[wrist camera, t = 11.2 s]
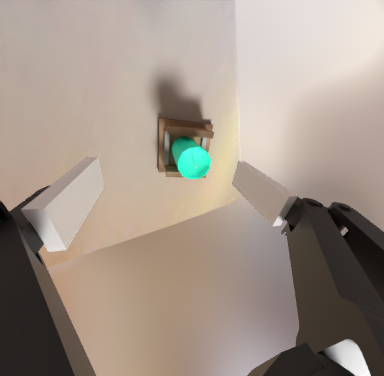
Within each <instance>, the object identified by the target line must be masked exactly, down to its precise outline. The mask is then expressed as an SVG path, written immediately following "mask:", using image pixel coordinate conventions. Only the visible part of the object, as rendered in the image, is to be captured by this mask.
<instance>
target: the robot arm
mask: <svg viewBox="0 0 384 376" xmlns="http://www.w3.org/2000/svg"><path fill="white" fill-rule="evenodd" d="M232 185H233V186H234V187H235V188H236V189H237V190H238V191H239V192H240V193H241V194H242V195H243V196H244V197H245V198H246V199H247V200H248V201H249V202H250V203H251V204H252V205H253V206H254V207H255V209H256V210H257V211H258V212H259V213H260V214H261V215H262V216H263V217H264V218H265V219H266V220H267V221H268V222H269V223H270V224H271V225H272V226H279V225H281V224H282V222H283V221H284V219H285V220H286V221H287V224H286V226H285V228H284V229H283V230H282V232H281V234H283V233H284V232H286V234H285V235H286V236H287V240H288V247H289V254H290V261H291V268H292V275H293V282H294V289H295V296H296V303H297V310H298V317H299V332H298V335H297V338H296V347H294V348H291V349H289V350H286V351H284V352H281V353H280V354H278V355H276V356H275V357H273V358H271V359H270V360H268V361H266V362H265V363H263V364H261V365H259V366H258V367H256V368H254V369H253V370H252V371H251V372H250V373H249V374H248V375H247V376H384V232H383V231H382V230H380V229H379V228H378V227H376V226H375V225H374V224H373V223H371V222H370V221H369V220H367V219H366V218H365V217H363V216H362V215H361V214H360V213H358V212H357V211H356V210H354V209H353V208H351V207H349V206H348V205H346V204H343V203H337V202H334V203H332V204H331V205H330V207H329V208H327V207H324V206H323V205H322V204H321V203H319V202H317V201H316V200H313V199H309V198H303V199H300V198H299V197H298V195H296V194H295V193H293V192H291V191H290V190H288V189H287V188H285V187H283V186H282V185H281V184H279V183H277V182H276V181H274V180H273V179H271V178H270V177H268V176H267V175H265V174H263V173H262V172H260V171H259V170H257V169H256V168H254V167H253V166H251V165H249V164H248V163H246V162H243V161H238V164H237V168H236V171H235V175H234V178H233V182H232ZM104 187H105V185H104V181H103V177H102V173H101V169H100V165H99V161H98V157H86V158H85V159H84V160H83V161H81V162H80V163H79V164H78V165H76V166H75V167H74V168H72V169H71V170H70V171H69V172H67V173H66V174H65V175H64V176H62V177H61V178H60V179H59V180H57V181H56V182H55V183H54V184H52V185H51V186H47V187H44V188H42V189H40V190H38V191H37V192H35V193H34V194H33V195H31V197H29V198H27V199H26V200H25V201H23V202H22V203H21V204H19V205H18V206H17V207H15V208H14V209H12V210H11V211H10V212H9V211H8V210H7V208H6V207H5V205H4V204H3V203H2V202H1V201H0V376H96V374H95V372H94V370H93V368H92V365H91V363H90V361H89V359H88V357H87V355H86V353H85V350H84V348H83V346H82V344H81V342H80V339H79V337H78V335H77V333H76V331H75V329H74V327H73V324H72V322H71V320H70V318H69V315H68V313H67V311H66V309H65V307H64V305H63V303H62V300H61V298H60V296H59V294H58V292H57V289H56V287H55V285H54V283H53V281H52V279H51V276H50V274H49V273H48V270H47V268H46V266H45V263H44V261H43V259H42V257H41V255H40V254H39V252H38V251H39V250H40V248H41V247H42V246H43V244H44V246H45V247H46V249H47V250H48V252H52V251H61V250H67V248H68V247H69V245H70V243H71V242H72V240H73V238H74V237H75V235H76V233H77V232H78V230H79V228H80V227H81V225H82V223H83V222H84V220H85V218H86V217H87V215H88V213H89V212H90V210H91V208H92V207H93V205H94V203H95V202H96V200H97V198H98V197H99V195H100V193H101V192H102V190H103V188H104ZM345 227H346V228H347V229H348V232H347V233H346V234H345V235H344V236H342V234H341V233H340V232H341V231H342V230H343V229H344V228H345Z"/></svg>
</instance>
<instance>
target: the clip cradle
mask: <svg viewBox="0 0 384 376" xmlns="http://www.w3.org/2000/svg"><path fill="white" fill-rule="evenodd" d="M212 128H213V125H211V124H203V123H195V122H188V121H180V120H172V119H164V118H159V172H166V177H184V176H182V174H181V173H180V171H179V170H178V168H177V165H176V162H175V159H174V157H173V154H172V145H173V143H174V141H175V140H176V139H178V138H179V137H182V136H188V137H189V138H191V139H193V140H194V141H195V142H196V143H197V144H199V145H200V146H201V147H202V148H203V149H205V150H206V151H207V152H208V150H209V145H210V139H211V138H213V135H214V132H212ZM205 177H206V175H205V176H203V177H201V178H205Z"/></svg>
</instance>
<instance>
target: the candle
mask: <svg viewBox="0 0 384 376" xmlns="http://www.w3.org/2000/svg"><path fill="white" fill-rule="evenodd" d="M172 154H173V157H174V159H175V162H176V165H177V168H178V170H179V171H180V173H181V174H182V176H184V177H186V178H188V179H199V178H201V177H203V176H205V175H206V174H207V172H208V170H209V169H210V164H211V158H210V156H209V154H208V152H207V151H206V150H205V149H203V148H202V147H201V146H200V145H199V144H197V143H196V142H195V141H194V140H193V139H191V138H189V137H188V136H182V137H179V138H178V139H176V140H175V141H174V143H173V145H172Z"/></svg>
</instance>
